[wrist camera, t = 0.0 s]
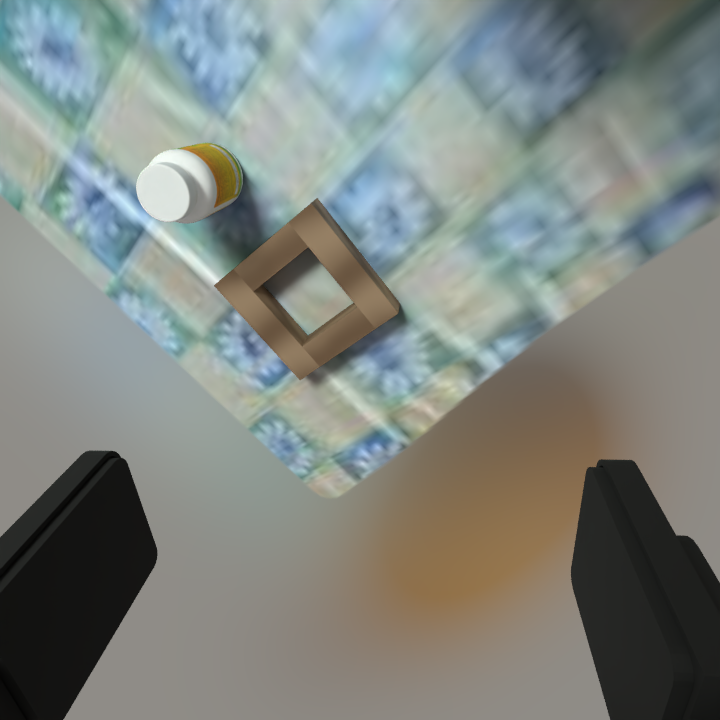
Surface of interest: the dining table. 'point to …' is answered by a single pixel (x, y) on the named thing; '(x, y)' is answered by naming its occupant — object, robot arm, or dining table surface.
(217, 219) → the dining table surface
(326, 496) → the dining table surface
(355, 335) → the frame
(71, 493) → the robot arm
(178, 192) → the supplement bottle
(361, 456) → the dining table surface
